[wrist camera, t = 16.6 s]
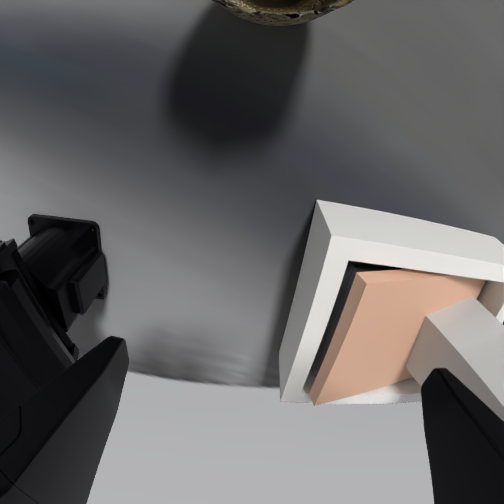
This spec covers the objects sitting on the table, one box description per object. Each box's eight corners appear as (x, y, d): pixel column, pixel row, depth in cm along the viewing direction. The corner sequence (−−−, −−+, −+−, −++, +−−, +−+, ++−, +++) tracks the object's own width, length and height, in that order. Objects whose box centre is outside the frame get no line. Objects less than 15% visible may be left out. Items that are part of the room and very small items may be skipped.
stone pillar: (405, 365, 20) (494, 495, 10) (425, 315, 18) (543, 461, 7) (450, 344, 21) (536, 453, 11) (472, 295, 19) (579, 412, 8)
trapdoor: (293, 363, 23) (314, 405, 19) (329, 243, 18) (366, 283, 15) (410, 339, 26) (434, 369, 23) (456, 243, 21) (490, 270, 18)
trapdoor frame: (278, 352, 26) (280, 401, 21) (316, 199, 19) (331, 235, 15) (432, 359, 26) (449, 398, 22) (494, 237, 20) (530, 270, 15)
